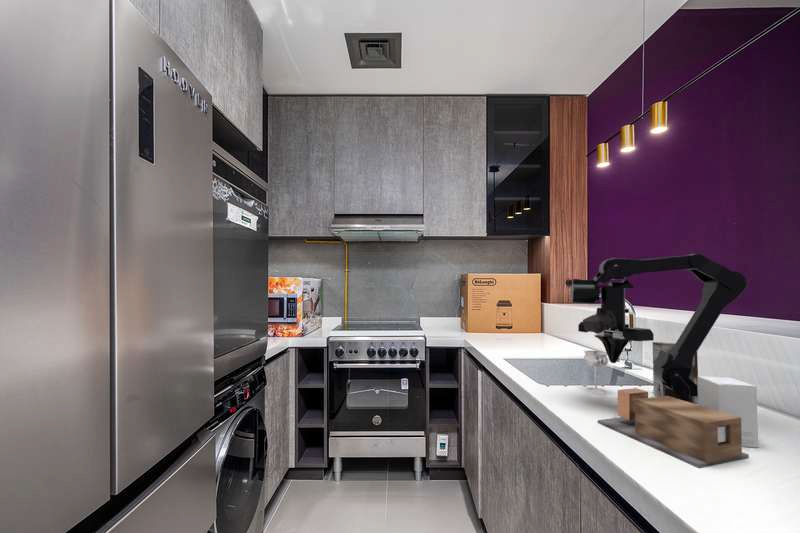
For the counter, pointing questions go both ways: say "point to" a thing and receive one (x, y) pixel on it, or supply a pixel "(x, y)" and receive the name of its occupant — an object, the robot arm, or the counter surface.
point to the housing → (683, 430)
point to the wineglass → (596, 365)
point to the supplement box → (732, 403)
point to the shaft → (629, 395)
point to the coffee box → (658, 386)
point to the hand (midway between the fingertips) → (613, 362)
